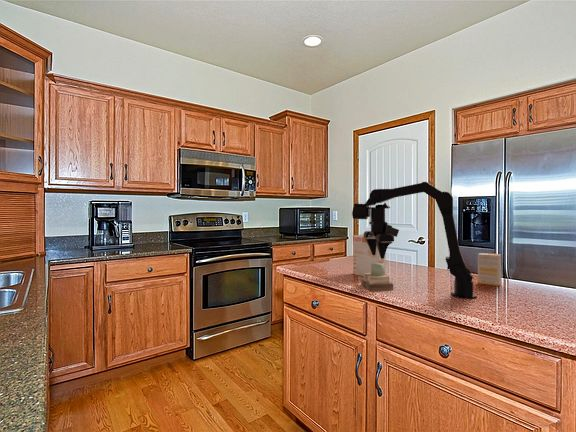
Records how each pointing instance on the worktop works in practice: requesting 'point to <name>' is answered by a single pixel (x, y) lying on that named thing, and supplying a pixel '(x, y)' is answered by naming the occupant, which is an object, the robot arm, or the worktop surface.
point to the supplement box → (489, 269)
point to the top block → (376, 279)
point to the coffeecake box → (364, 256)
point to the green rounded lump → (377, 269)
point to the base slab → (376, 286)
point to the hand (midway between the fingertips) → (378, 256)
